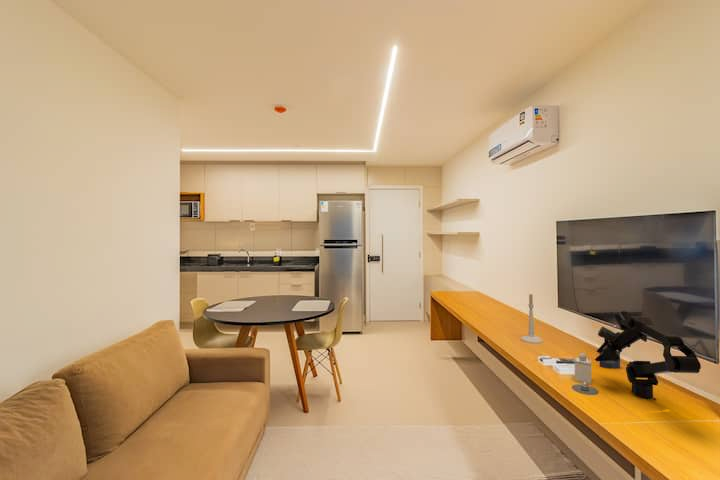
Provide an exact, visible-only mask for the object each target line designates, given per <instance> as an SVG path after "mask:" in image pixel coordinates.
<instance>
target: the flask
mask: <svg viewBox="0 0 720 480" xmlns="http://www.w3.org/2000/svg"><path fill="white" fill-rule="evenodd" d="M617 351H618V350H617ZM618 352H619V351H618ZM601 353H602V352H600V353H598V356H599V355H600V354H601ZM619 353H620V354H621V352H619ZM599 367H600V368H604V369H621V358H620V359H619V360H618V361H616V362H615V361H599Z"/></svg>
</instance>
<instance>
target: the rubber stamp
mask: <svg viewBox="0 0 720 480" xmlns="http://www.w3.org/2000/svg"><path fill="white" fill-rule="evenodd" d="M578 355H579V356H578V357H577V356H575V357H574V381H575V382H579V383H582V381H586V382H588V384H589V385H590V384H592V359H591V358H587V353H584V352H579V354H578Z"/></svg>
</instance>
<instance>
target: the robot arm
mask: <svg viewBox="0 0 720 480" xmlns="http://www.w3.org/2000/svg"><path fill="white" fill-rule="evenodd" d="M628 313H629V312H627V311H625V310H622V311H621V312H620V313H617V314H615V315H614V316H613V320H614V321H615V323H616V324H617V326H618V327H619V329H620V330H621V331H617V332H614V331H612V330H610V329H609V328H606V327H604V326H601V327H600V328H599V330H598V332H597V335H598V337H600V338H603V340H604V342H603V343H601V345H600V346H599V348H597V349H596V353H598V356H597V357H595V359H594V361H596V362H600V361H615V362H616V361H618V360H619V359H620V360H621V353H622V352H623V350H624V349H626V348H629V349H630V347H631V346H632V344H634V343H636V342H638V341H639V340H641V341H643V342H645V343H646V342H647V341H648V337H650V338H652V339H654V340H655V341H657V342H660V344H662V346H663V352H662V356H663V358H664V360H663V361H657V362H651V360H633V361H628V363H627V364H626V367H625V372H626V377H627V380H628V382H629V383H630V384H631V392H632V394H633V395H635V396H636V397H638V398H641V399H645V400H654V401H657V398H656V397H654V386H658V385H659V380H658V377H657V376H656V375H658V374H659V375H660V374H665V373H666V374H667V373H675V374H677V373H680V374H681V373H682V374H699V373H700V372H701V371H700V370H701V368H702V365H701V362H700V360H699V359H698V356H697V355H696V353H695V352H694V350H692V349H691V348H690V347H689V346H687V345H686V344H685V342H684V340H683V339H682V337H680V336H678V335H675V334H674V333H673V334H672V333H671V332H669V331H666V329H665V330H664V329H663V328H660V327H659V326H657V325H655V324H654V323H653V322H654V321H653V320H652V319H650V318H648V316H631V315H629V314H628ZM671 348H677V349H678V350H679V351H680V352H681V353H682V354H683V355H672V353H671ZM617 350H618V351H619V352H620V353H619V352H618V351H617ZM600 352H602V353H601V354H600V355H599V353H600Z"/></svg>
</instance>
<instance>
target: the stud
mask: <svg viewBox="0 0 720 480" xmlns="http://www.w3.org/2000/svg"><path fill="white" fill-rule="evenodd" d="M581 385H582V386H581V389H582V390H585V391H589V388H588V386H589V383H588V382H586V381H582V382H581Z"/></svg>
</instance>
